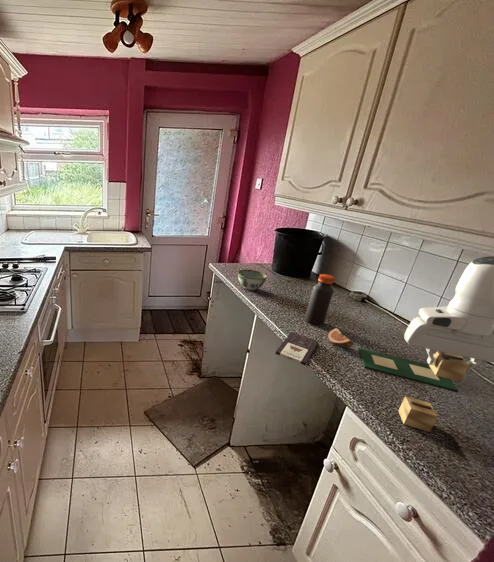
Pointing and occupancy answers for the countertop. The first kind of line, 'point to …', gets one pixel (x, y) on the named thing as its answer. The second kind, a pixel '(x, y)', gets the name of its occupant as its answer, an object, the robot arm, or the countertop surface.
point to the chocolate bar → (297, 348)
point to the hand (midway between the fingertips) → (446, 367)
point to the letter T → (449, 366)
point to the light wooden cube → (417, 414)
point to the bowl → (251, 279)
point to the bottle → (320, 300)
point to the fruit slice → (339, 338)
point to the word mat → (404, 369)
